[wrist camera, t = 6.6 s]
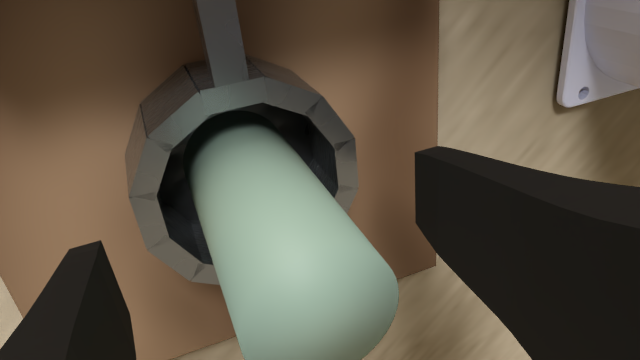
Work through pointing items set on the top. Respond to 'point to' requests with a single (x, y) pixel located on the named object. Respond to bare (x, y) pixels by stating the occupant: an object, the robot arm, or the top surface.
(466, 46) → the top surface
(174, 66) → the cup bracket
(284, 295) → the peg
